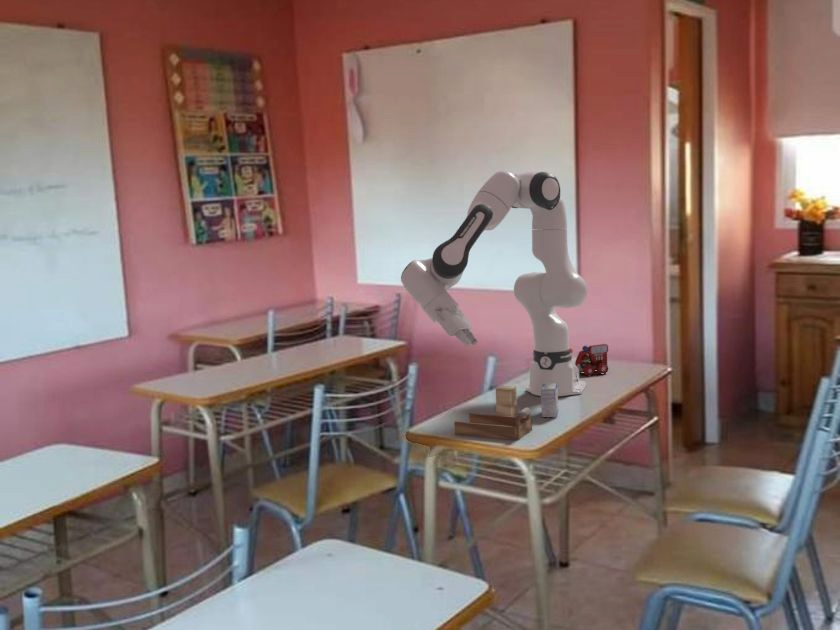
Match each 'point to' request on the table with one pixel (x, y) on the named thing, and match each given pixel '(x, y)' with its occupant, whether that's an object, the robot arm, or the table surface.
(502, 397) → the tan wooden block
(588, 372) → the toy fire truck
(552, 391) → the medicine box
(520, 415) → the wooden drawer with handle
